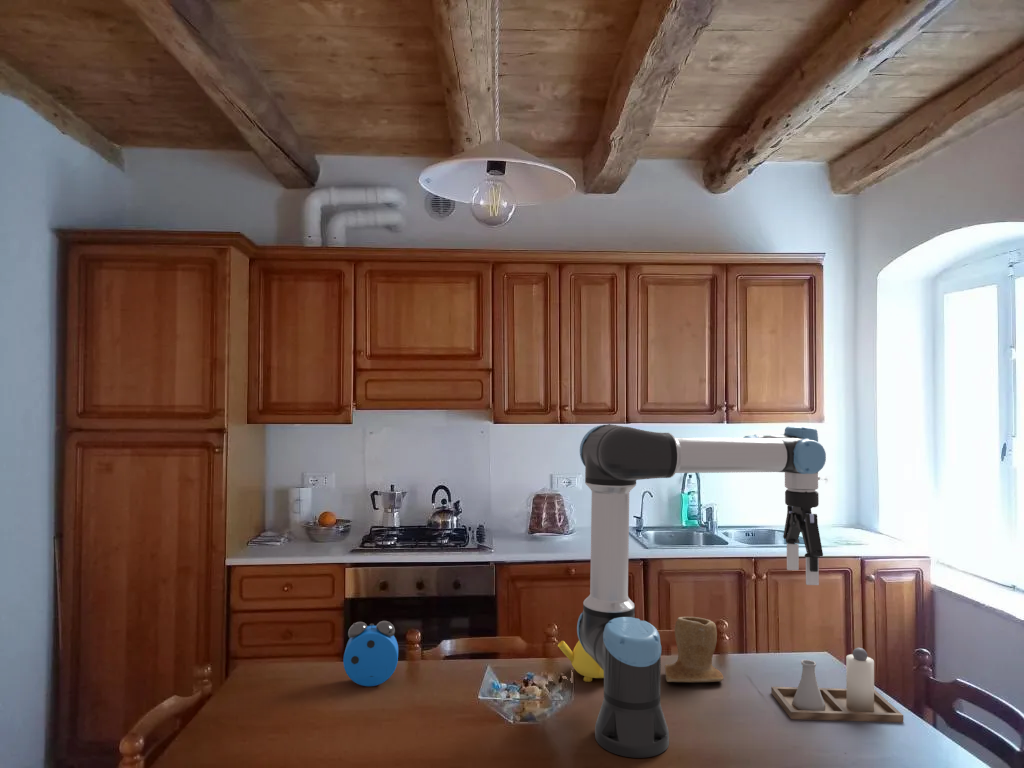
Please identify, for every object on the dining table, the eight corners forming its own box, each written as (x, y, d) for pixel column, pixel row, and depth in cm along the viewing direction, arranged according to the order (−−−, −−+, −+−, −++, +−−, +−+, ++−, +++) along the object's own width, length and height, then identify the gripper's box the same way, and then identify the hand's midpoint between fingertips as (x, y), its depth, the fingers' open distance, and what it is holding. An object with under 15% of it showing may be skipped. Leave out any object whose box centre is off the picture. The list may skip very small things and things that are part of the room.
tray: (791, 722, 149) (791, 712, 149) (771, 696, 162) (771, 686, 162) (903, 725, 148) (903, 715, 148) (874, 699, 161) (874, 689, 161)
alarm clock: (398, 676, 172) (398, 616, 172) (397, 686, 166) (398, 624, 166) (345, 679, 170) (345, 618, 170) (342, 689, 164) (343, 627, 164)
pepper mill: (853, 713, 152) (853, 652, 152) (842, 701, 157) (842, 643, 158) (878, 713, 151) (878, 652, 152) (866, 702, 157) (866, 643, 157)
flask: (821, 700, 158) (821, 657, 158) (829, 715, 151) (829, 669, 151) (788, 697, 159) (788, 654, 159) (795, 711, 152) (795, 666, 152)
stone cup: (712, 668, 178) (712, 611, 179) (728, 687, 166) (728, 626, 167) (655, 669, 177) (655, 611, 178) (667, 688, 166) (668, 627, 166)
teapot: (586, 659, 184) (586, 618, 184) (631, 672, 175) (631, 629, 175) (555, 676, 172) (556, 632, 173) (602, 691, 164) (602, 645, 164)
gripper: (838, 497, 153) (838, 592, 153) (799, 483, 178) (800, 564, 177) (803, 497, 153) (804, 591, 153) (770, 482, 178) (770, 563, 178)
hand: (802, 577), depth 165 cm, fingers open, 13 cm apart
